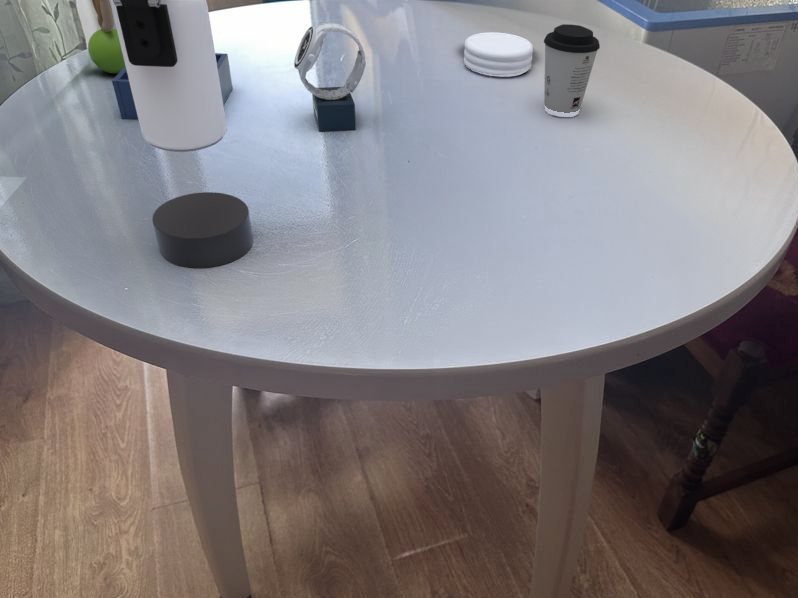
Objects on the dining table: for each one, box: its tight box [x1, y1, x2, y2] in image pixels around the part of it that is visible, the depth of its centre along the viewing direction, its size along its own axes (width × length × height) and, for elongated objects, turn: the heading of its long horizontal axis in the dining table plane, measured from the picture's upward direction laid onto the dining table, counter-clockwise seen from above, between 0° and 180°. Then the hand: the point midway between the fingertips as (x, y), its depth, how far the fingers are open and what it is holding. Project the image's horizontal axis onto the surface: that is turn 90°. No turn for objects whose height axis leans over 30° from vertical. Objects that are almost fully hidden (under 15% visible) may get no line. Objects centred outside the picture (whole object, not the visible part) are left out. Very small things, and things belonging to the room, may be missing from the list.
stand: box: [151, 191, 254, 269], centre depth 63 cm, size 8×8×3 cm
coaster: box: [463, 31, 534, 75], centre depth 104 cm, size 10×10×4 cm
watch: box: [293, 21, 367, 133], centre depth 83 cm, size 6×8×11 cm
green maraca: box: [87, 0, 125, 75], centre depth 90 cm, size 5×6×12 cm
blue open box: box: [111, 52, 233, 120], centre depth 86 cm, size 11×11×4 cm
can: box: [109, 0, 228, 153], centre depth 54 cm, size 6×6×12 cm
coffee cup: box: [543, 23, 601, 113], centre depth 90 cm, size 7×7×10 cm
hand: (167, 46), depth 53 cm, fingers closed on can, 6 cm apart
